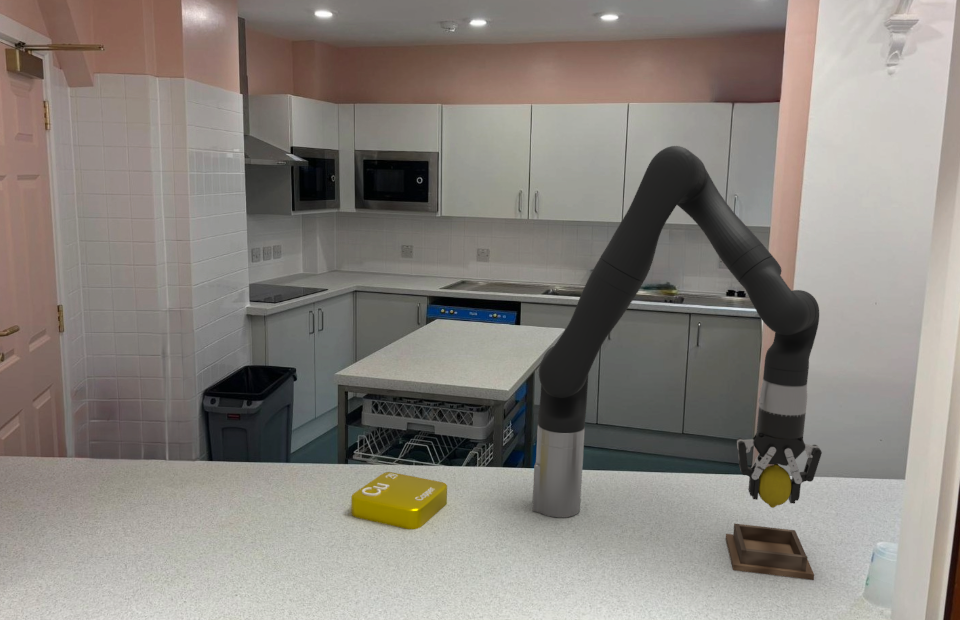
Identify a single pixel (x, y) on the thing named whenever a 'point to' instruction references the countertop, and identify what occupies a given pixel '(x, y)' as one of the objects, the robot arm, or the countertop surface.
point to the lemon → (774, 485)
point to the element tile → (399, 500)
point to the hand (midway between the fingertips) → (773, 499)
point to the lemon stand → (768, 551)
